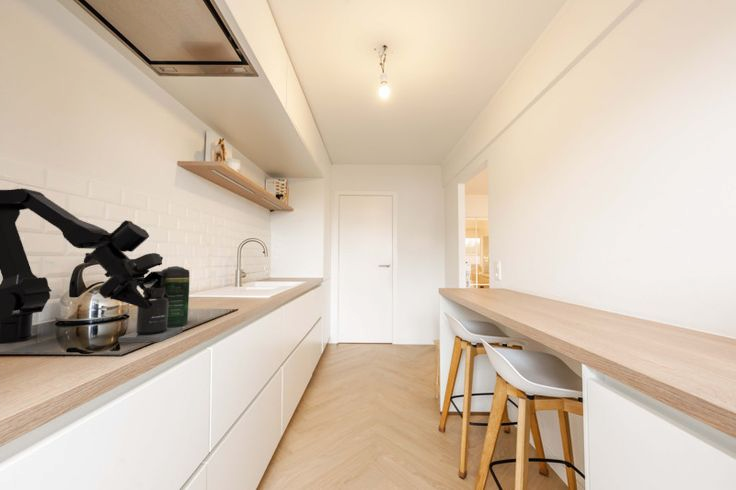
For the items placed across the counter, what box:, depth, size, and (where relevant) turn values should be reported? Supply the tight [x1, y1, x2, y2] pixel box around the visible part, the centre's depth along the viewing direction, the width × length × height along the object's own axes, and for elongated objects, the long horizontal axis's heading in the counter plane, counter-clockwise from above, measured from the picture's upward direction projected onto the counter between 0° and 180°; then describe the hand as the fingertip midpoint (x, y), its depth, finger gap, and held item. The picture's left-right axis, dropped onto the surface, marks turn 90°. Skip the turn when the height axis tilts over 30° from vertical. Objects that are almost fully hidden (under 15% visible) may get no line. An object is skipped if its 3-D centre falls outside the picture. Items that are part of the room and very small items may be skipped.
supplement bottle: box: [135, 287, 169, 335], centre depth 79 cm, size 7×7×12 cm
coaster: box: [117, 327, 184, 343], centre depth 78 cm, size 10×10×1 cm
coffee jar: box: [161, 265, 190, 328], centre depth 93 cm, size 10×8×19 cm
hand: (159, 304), depth 79 cm, fingers open, 9 cm apart
